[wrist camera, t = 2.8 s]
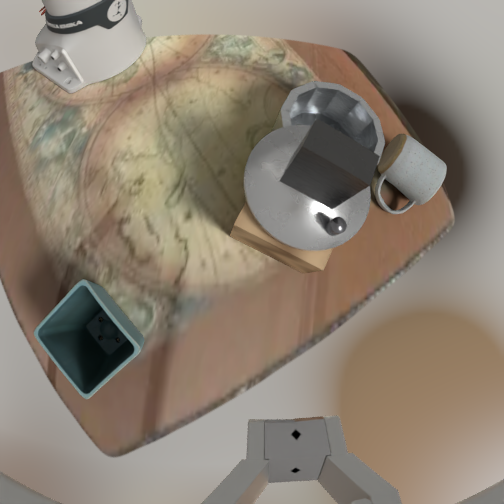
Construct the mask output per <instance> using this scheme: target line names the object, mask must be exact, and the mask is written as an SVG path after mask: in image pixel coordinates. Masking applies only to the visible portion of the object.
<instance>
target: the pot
mask: <svg viewBox="0 0 504 504" xmlns="http://www.w3.org/2000/svg"><path fill="white" fill-rule="evenodd" d="M316 118H317V119H318V120H320V121H322V122H324V123H326V124H327V125H329V126H331V127H333V128H335V129H336V130H338V131H340V132H342V133H343V134H345V135H347V136H348V137H350V138H352V139H353V140H355V141H357V142H358V143H360V144H361V145H363V146H365V147H366V148H368V149H369V150H371V151H373V152H374V153H376V154H377V155H379V156H380V157H379V160H378V163H377V165H378V164H379V161H380V158H381V155H382V152H383V148H384V145H385V140H384V136H383V132H382V128H381V124H380V120H379V118H378V117H377V115H376V114H375V113H374V112H373V110H372V109H371V108H370V106H369V105H368V104H367V103H366V102H365V100H364V99H362V97H360V96H359V95H357V94H355V93H353V92H352V91H350V90H348V89H347V88H345V87H343V86H341V85H339V84H334V83H326V82H318V81H314V82H313V81H312V82H310V83H307V84H305V85H302V86H299V87H297V88H294V89H293V90H291V92H290V94H289V95H288V97H287V99H286V101H285V102H284V104H283V106H282V107H281V109H280V112H279V114H278V117H277V119H276V122H275V124H274V126H273V129H272V131H274V130H277V129H279V128H282V127H286V126H291V125H308V126H311V125H312V124H313V122H314V121H315V119H316ZM272 131H271V132H272Z"/></svg>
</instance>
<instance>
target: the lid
mask: <svg viewBox="0 0 504 504" xmlns="http://www.w3.org/2000/svg"><path fill="white" fill-rule="evenodd" d="M379 157H380V156H379V155H377V154H376V153H374V152H373V151H371V150H369V149H368V148H366V147H365V146H363V145H361V144H360V143H358V142H357V141H355V140H353V139H352V138H350V137H348V136H347V135H345V134H343V133H342V132H340V131H338V130H336V129H335V128H333V127H331V126H329V125H327V124H326V123H324V122H322V121H320V120H318V119H317V118H316V119H315V121H314V122H313V124H312V125H311V126H308V125H291V126H286V127H282V128H279V129H277V130H274V131H272V132H271V133H269V134H267V135H266V136H265V137H264V138H262V139H261V140H260V141H259V142H258V143H257V144H256V146H255V147H254V149H253V150H252V152H251V154H250V156H249V158H248V161H247V164H246V167H245V171H244V194H245V198H246V202H247V204H248V207H249V209H250V212H251V213H252V215H253V217H254V218H255V220H256V221H257V223H258V224H259V225H260V226H261V228H262V229H263V230H264V231H265V232H266V233H267V234H269V235H270V236H271V237H273V238H274V239H275V240H277V241H279V242H280V243H282V244H284V245H286V246H289V247H291V248H294V249H298V250H303V251H323V250H327V249H331V248H334V247H337V246H339V245H341V244H343V243H345V242H346V241H348V240H349V239H351V238H352V237H353V236H354V235H355V234H356V233H357V232H358V231H359V229H360V228H361V226H362V225H363V223H364V221H365V219H366V217H367V214H368V211H369V207H370V196H371V192H370V184H371V181H372V178H373V175H374V172H375V169H376V166H377V163H378V160H379Z"/></svg>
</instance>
